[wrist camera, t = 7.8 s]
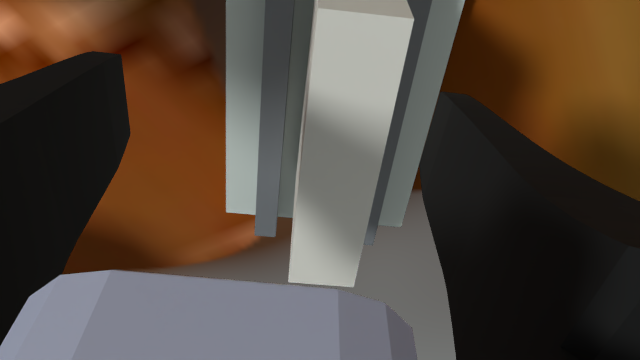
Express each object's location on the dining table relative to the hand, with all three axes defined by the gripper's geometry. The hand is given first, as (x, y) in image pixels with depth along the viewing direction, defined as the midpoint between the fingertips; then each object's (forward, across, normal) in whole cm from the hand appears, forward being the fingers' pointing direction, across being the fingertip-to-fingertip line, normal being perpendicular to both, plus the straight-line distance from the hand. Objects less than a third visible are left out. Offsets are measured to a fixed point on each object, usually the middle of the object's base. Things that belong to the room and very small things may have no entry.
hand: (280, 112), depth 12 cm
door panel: (+9, -2, +3) cm, 10 cm away
